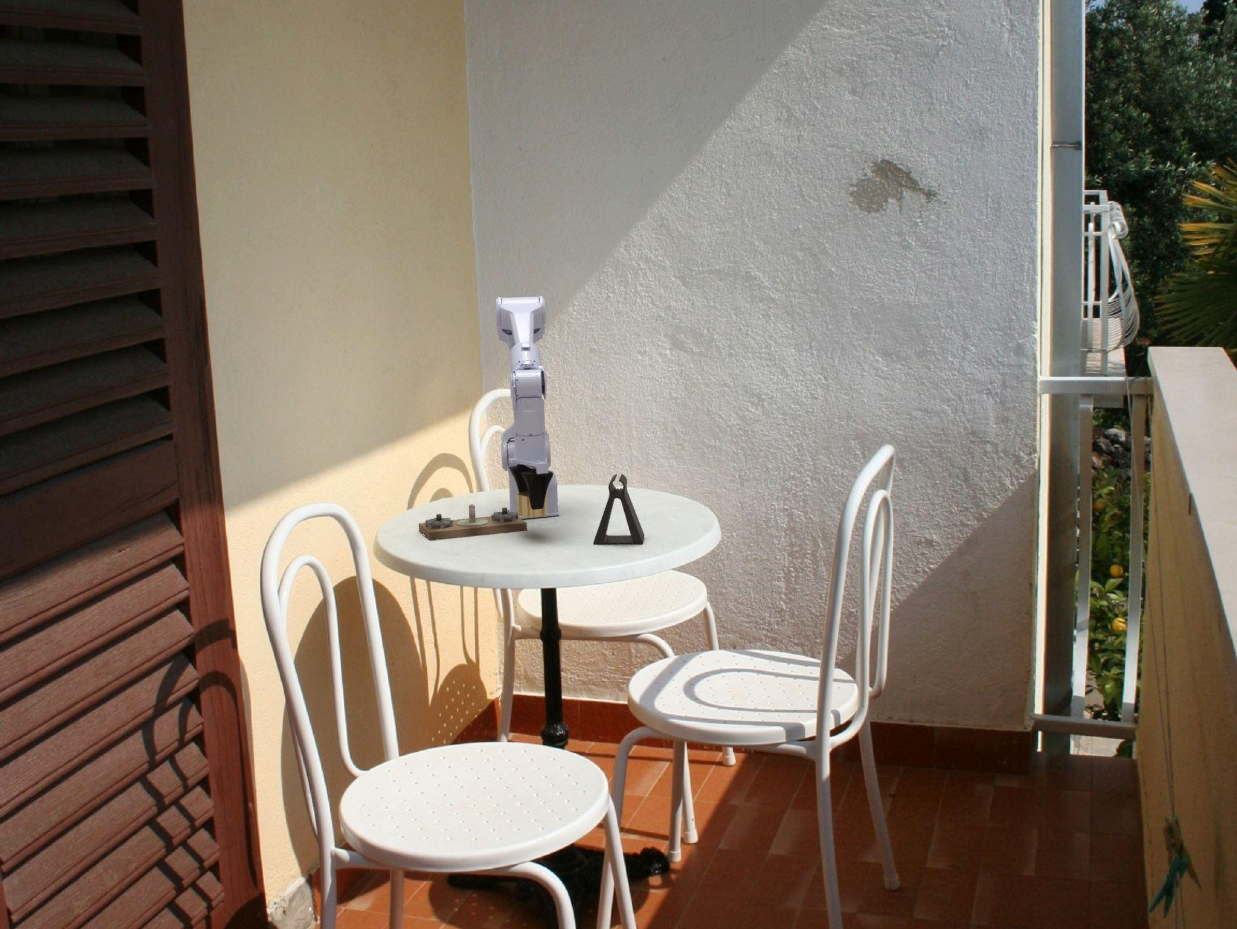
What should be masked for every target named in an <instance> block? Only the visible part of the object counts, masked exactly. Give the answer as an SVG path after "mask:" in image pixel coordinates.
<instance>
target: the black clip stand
mask: <svg viewBox="0 0 1237 929" xmlns="http://www.w3.org/2000/svg"><path fill="white" fill-rule="evenodd" d="M617 477H618V474H617V473H615V474H614V475H613V476H612V477H611V479H610V481H609V483H608V498H607V501H606V504H605V508H604V510H603V513H602V516H601V519H600V522H599V524H598V525H599V526H598V528H597V530H596V534H595V537H594V540H593V545H595V546H599V545H600V546H608V545H609V546H614V545H616V546H617V545H619V546H620V545H621V546H622V545H623V546H624V545H628V546H633V545H638V546H639V545H643V543H644V539H645V533H644V531H643V528H642V525H641V522H640V519H639V518H638V514H637V512H636V508H635V506H634V504H633V501H632V499H631V497H630V493H629V491H628V479H627V477H626V476H625V475H624V473H621V474H620V476H619V479H618V482H619V483H621V484H622V486H623V487H621V488H619V487H617V488H616V486H615V484H614V483H613V482H615V481H616V479H617ZM616 499H618V500H620V504H621V505H622V509H623V513H624V515H625V519H626V520H625V521H626V523H627V527H628V530H629V535H628V534H627V535H624V534H623V535H621V534H620V535H617V534H615V535H611V534H610V535H609V534H607V533H608V532H607V531H608V528H609V525H610V524H609V523H610V519H611V515H612V512H613V508H614V503H615V500H616Z"/></svg>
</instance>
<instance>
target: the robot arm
mask: <svg viewBox="0 0 1237 929" xmlns="http://www.w3.org/2000/svg"><path fill="white" fill-rule="evenodd" d="M546 318H547V317H546V300H545V298H544V297H543V296H542V295H539V296H522V297H520V296H519V297H515V296H514V297H501V296H498V297H497V298H496V299H495V323H496V334H497V336H498V340H499V341H500V342H501V341H502V342H503V343H506V345H507V347H508V350H509V352H510V353H509V357H510V358H509V359H510V374H509V387H510V388H509V390H510V398H511V405H512V411H513V423H512V424H511V425H510V426H509V427H508V428H506V429H504V431H503V432H502V435H501V443H500V449H501V451H500V452H501V468H502V469H503V470H504V471H505V472H508V485H509V486H508V488H509V509H507V511H511V512H517V493H519V492H525V491H528V494H529V500H530V505H531V508H532V510H536V509H543V507H544V503H545V497H546V492H547V515H546V516H539V517H538V518H544V517H555V516H559V515H560V512H559V501H558V500H559V498H558V497H559V496H558V480H557V477H556V473H555V471H553V470H550V469H549V468H550V467H551V465H552V460H551V459H552V457H551V456H552V455H551V454H552V453H551V440H550V436H549V432H548V430H547V429H546V422H545V420H546V417H545V414H546V413H545V400H546V398H547V390H548V389H547V375H546V374H547V373H546V372H545V368H544V366H543V365H542V359H541V356H542V355H541V351H540V350H541V349H540V348H539V347H538V345H537V344H535V343H536V342H538V341H540V340H542V339H544V334H545V328H546V326H545V325H546V320H547V319H546ZM542 396H543V397H542ZM542 398H544V399H542ZM518 517H519V518H520V519H522V520H524V519H525V520H526V519H535V518H536V519H537V517H528V518H526V517H522V516H518Z"/></svg>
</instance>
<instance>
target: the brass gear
mask: <svg viewBox="0 0 1237 929" xmlns="http://www.w3.org/2000/svg"><path fill="white" fill-rule="evenodd" d="M517 515H518V516H522V517H526V519H529V518H528V517H536V518H540V517H539V516H546V515H547V492H546V497H545V503H544V507H543V509H536V510H532V508H531V505H530V500H529V494H528V491H525V492H519V493H517ZM546 517H547V516H546Z"/></svg>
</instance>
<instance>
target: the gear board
mask: <svg viewBox="0 0 1237 929" xmlns="http://www.w3.org/2000/svg"><path fill="white" fill-rule="evenodd" d="M507 510H508V508H507V507H502V508H501V511H494V512H493V513H492V514H490V515H489V516H479V517H478V516H477V517H476V506H475V504H473V503H470V504H469V505H468V518H461V519H451V517H442V513H437V514H435V517H434V518H429V519H425V521H424V522H420V523H418V531H419V533H421V534H422V535H423V534H424V535H425V536H426V537H427V538H426V537H425V536H424V535H423V536H424V537H425V538H426V539H427V540H429V541H437V540H436V539H439V540H445V539H446V540H447V539H455V538H465V537H475V536H484V535H494V534H502V533H504V534H505V533H513V532H521V531H528V524H527V522H526V520H524V519H520V518H519V517H518V515H517V512H511V511H507Z"/></svg>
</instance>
